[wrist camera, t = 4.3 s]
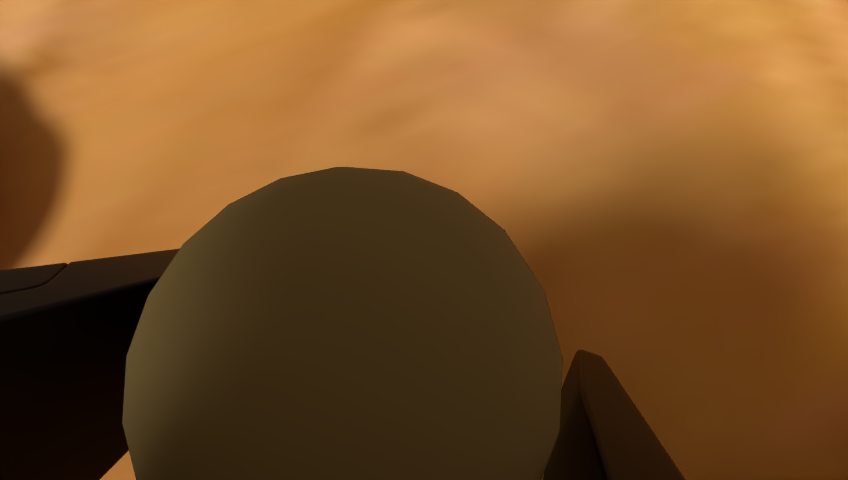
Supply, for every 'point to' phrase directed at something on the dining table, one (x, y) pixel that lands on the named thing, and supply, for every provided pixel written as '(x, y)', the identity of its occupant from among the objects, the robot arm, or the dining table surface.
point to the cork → (345, 342)
